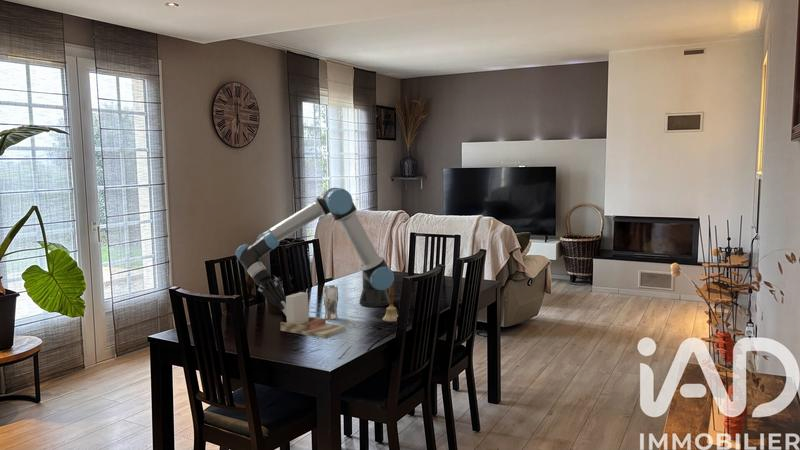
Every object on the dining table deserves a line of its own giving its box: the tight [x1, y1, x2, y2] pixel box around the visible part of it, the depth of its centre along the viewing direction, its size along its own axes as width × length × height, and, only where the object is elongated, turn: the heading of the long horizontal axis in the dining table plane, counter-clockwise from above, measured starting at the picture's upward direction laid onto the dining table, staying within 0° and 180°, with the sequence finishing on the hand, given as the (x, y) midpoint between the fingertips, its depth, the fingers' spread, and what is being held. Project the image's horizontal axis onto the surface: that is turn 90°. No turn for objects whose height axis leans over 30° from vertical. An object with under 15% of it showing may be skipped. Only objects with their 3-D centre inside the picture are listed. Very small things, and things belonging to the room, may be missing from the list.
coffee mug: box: [264, 296, 282, 315], centre depth 291 cm, size 12×9×10 cm
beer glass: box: [322, 284, 339, 321], centre depth 276 cm, size 7×7×15 cm
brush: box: [381, 284, 399, 323], centre depth 273 cm, size 8×8×16 cm
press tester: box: [279, 315, 346, 339], centre depth 258 cm, size 24×14×4 cm, turn 60°
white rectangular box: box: [285, 291, 310, 325], centre depth 261 cm, size 5×10×13 cm, turn 150°
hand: (289, 314), depth 263 cm, fingers closed
